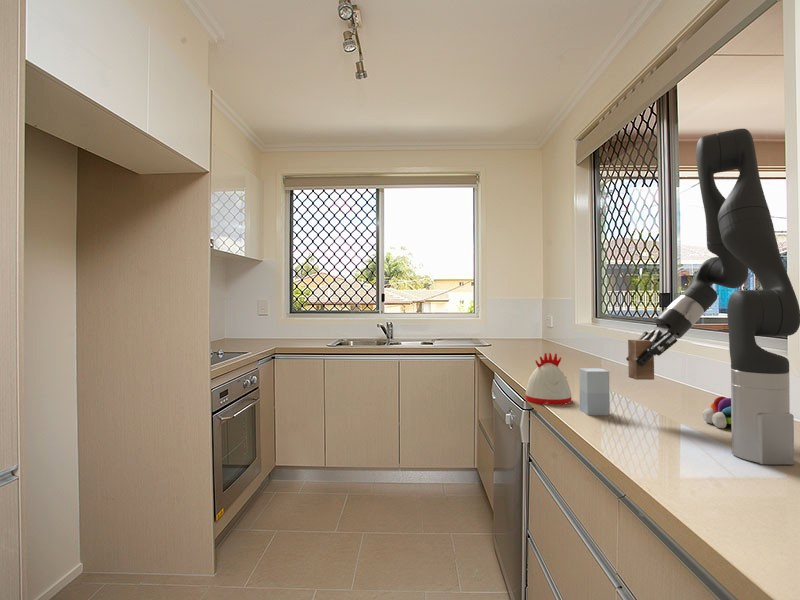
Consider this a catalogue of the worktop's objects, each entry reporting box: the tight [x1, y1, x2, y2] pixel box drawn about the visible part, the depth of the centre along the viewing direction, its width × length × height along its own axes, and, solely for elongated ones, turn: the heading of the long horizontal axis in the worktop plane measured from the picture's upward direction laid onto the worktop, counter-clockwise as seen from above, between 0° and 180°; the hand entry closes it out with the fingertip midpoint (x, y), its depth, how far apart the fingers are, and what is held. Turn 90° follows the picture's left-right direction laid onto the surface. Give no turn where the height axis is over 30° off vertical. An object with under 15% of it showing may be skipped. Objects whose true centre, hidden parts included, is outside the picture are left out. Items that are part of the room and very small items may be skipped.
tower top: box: [578, 367, 610, 393], centre depth 132 cm, size 6×6×6 cm
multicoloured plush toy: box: [702, 396, 731, 429], centre depth 117 cm, size 8×10×7 cm
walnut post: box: [627, 339, 655, 381], centre depth 123 cm, size 4×4×10 cm
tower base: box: [579, 389, 611, 416], centre depth 131 cm, size 6×6×6 cm
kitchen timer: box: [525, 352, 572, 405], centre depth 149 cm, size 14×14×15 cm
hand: (633, 362), depth 123 cm, fingers closed on walnut post, 4 cm apart
